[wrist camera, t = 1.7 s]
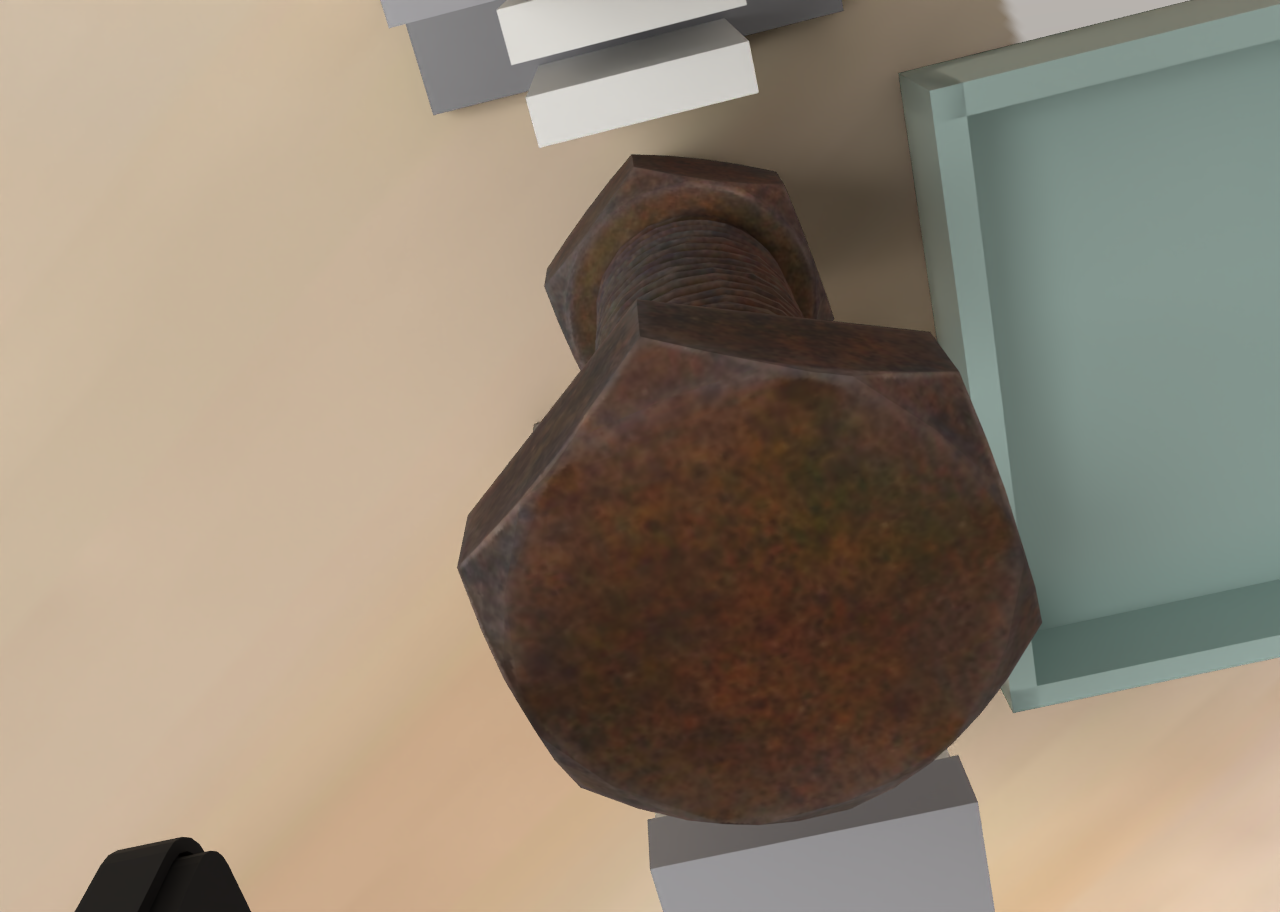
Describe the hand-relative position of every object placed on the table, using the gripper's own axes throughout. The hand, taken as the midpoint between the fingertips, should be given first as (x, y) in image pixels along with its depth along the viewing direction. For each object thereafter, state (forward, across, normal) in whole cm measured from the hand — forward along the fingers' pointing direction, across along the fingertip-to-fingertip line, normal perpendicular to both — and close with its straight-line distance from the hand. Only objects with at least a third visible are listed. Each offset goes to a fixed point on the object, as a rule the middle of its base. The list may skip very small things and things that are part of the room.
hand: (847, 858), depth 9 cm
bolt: (+18, 0, -1) cm, 18 cm away
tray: (+18, -10, +4) cm, 21 cm away
